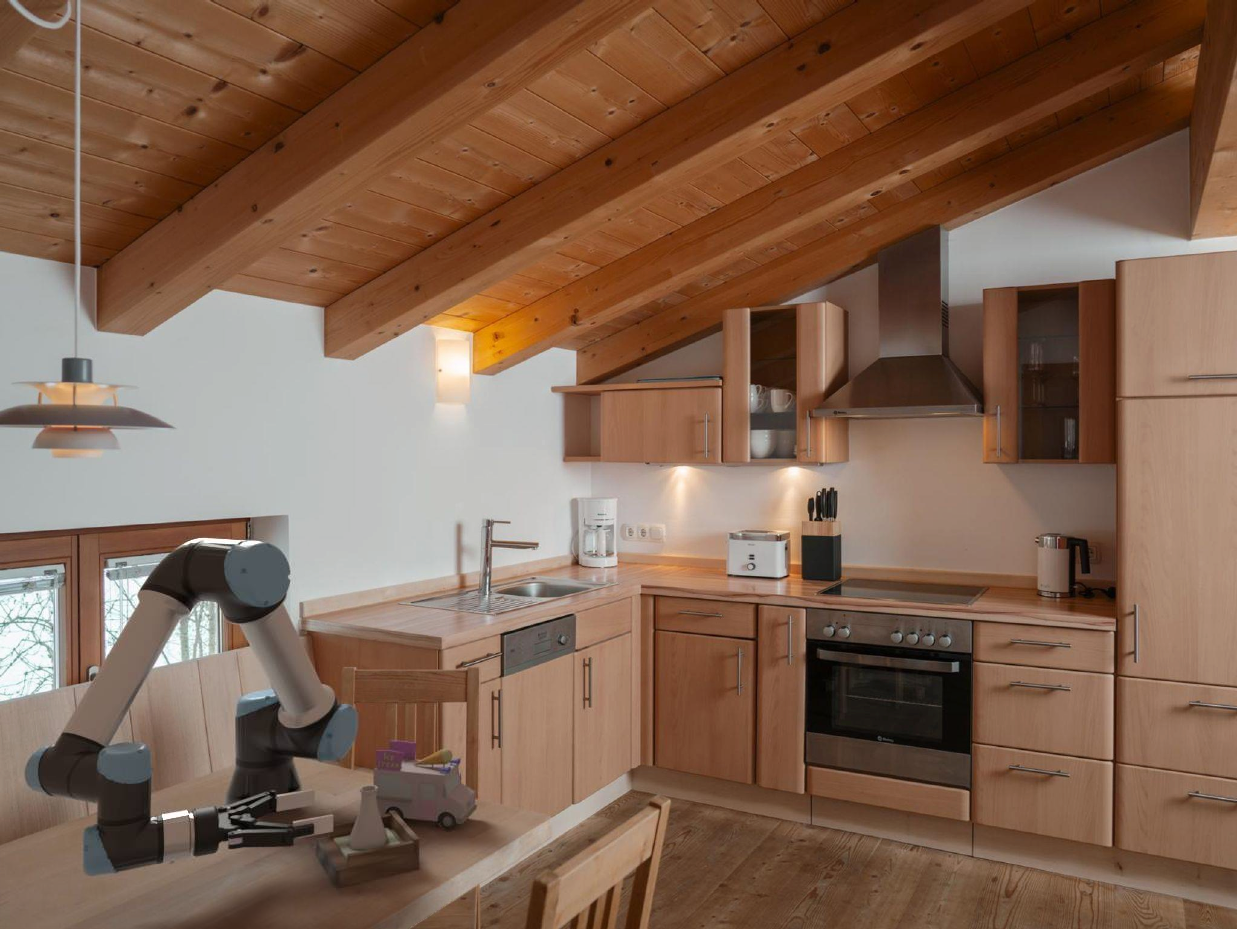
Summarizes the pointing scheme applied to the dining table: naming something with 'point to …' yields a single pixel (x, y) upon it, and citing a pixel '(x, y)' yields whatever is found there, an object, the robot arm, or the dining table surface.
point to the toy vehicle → (422, 786)
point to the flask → (368, 822)
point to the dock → (368, 853)
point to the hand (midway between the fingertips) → (323, 809)
